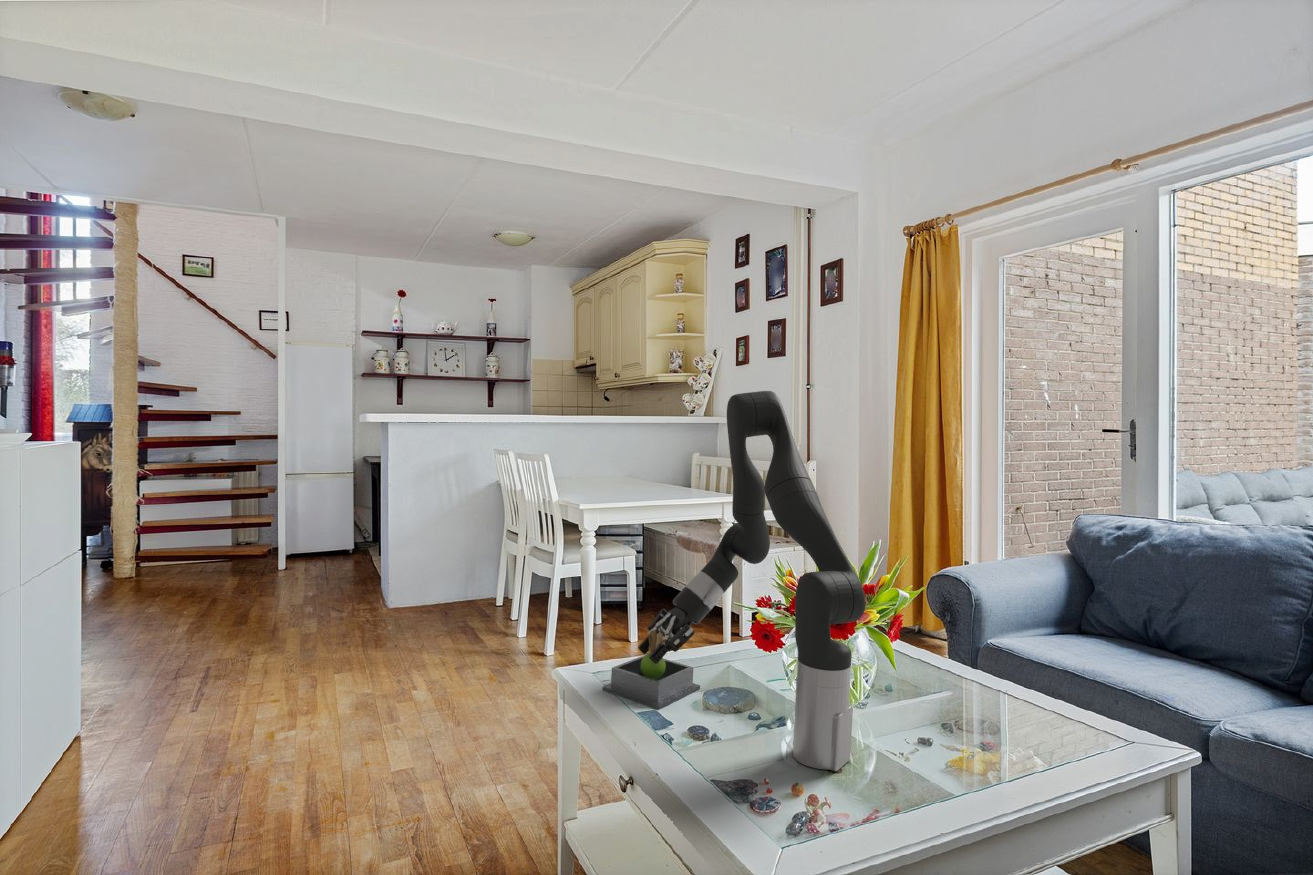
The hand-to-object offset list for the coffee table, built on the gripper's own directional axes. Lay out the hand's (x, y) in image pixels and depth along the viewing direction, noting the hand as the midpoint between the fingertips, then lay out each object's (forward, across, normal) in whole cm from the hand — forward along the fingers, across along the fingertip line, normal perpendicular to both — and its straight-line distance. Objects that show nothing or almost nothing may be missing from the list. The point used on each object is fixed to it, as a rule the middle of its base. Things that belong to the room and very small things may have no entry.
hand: (646, 655), depth 158 cm
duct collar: (+4, 0, +6) cm, 8 cm away
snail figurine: (+3, 0, +5) cm, 6 cm away
